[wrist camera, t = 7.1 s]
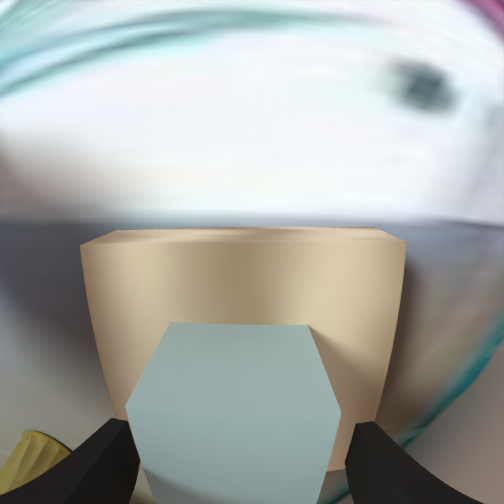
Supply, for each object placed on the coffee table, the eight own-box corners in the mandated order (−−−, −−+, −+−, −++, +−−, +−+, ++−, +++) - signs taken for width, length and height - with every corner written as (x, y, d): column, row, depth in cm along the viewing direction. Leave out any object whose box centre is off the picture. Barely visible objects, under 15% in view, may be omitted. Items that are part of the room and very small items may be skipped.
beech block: (151, 421, 17) (134, 466, 13) (119, 228, 15) (79, 245, 11) (344, 420, 17) (360, 466, 13) (369, 225, 15) (406, 241, 11)
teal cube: (181, 422, 12) (158, 510, 7) (170, 322, 11) (125, 406, 6) (296, 424, 12) (312, 515, 7) (307, 324, 11) (341, 412, 6)
